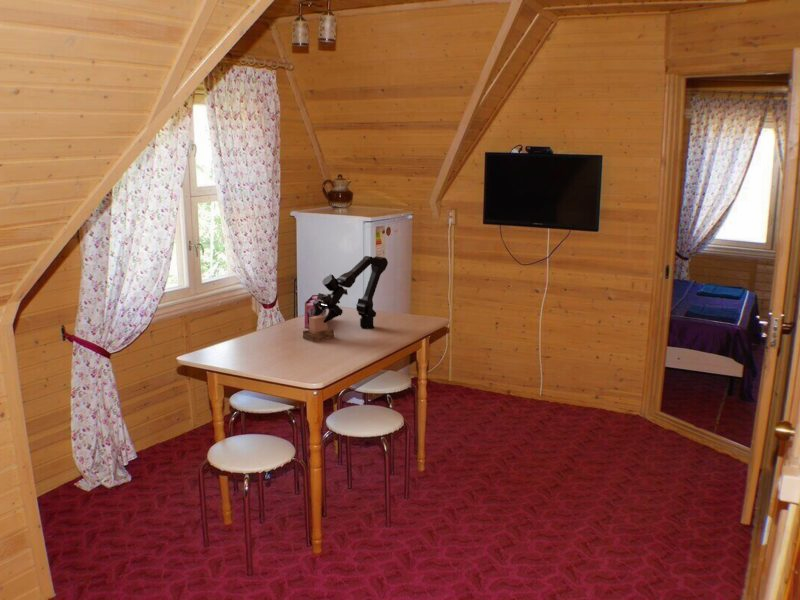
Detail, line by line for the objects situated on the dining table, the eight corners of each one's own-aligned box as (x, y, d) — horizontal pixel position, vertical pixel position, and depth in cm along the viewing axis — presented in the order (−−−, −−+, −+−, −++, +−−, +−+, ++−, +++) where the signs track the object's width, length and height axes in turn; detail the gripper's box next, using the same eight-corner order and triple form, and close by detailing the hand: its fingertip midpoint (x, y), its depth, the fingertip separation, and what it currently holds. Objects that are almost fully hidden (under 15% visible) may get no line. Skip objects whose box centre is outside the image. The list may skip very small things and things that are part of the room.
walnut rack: (323, 333, 382) (323, 326, 382) (334, 337, 376) (333, 329, 375) (302, 338, 374) (302, 330, 373) (313, 341, 367) (313, 334, 366)
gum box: (318, 329, 393) (317, 304, 390) (303, 328, 394) (303, 303, 391) (326, 318, 416) (326, 294, 413) (312, 318, 417) (312, 294, 414)
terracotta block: (322, 333, 379) (321, 314, 377) (327, 335, 376) (327, 316, 374) (309, 336, 374) (309, 317, 371) (314, 338, 370) (314, 318, 368)
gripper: (315, 284, 380) (298, 308, 375) (337, 289, 366) (320, 315, 361) (327, 297, 387) (311, 321, 382) (350, 302, 373) (333, 327, 368)
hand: (318, 320), depth 373 cm, fingers open, 9 cm apart
